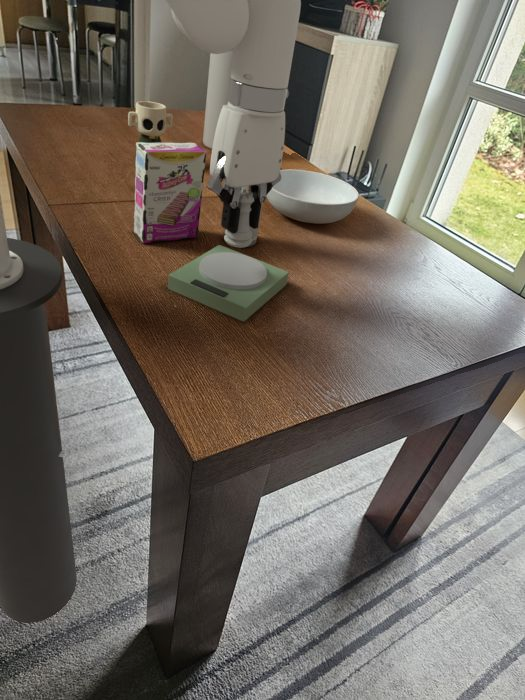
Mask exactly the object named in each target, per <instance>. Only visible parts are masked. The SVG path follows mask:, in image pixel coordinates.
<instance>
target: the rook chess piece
mask: <svg viewBox="0 0 525 700" xmlns="http://www.w3.org/2000/svg"><path fill="white" fill-rule="evenodd" d="M253 202H254V198H253V193H251V191H248V193H246V189H243V191H242V192H241V194H240V198H239V202H238V206H237V207H239V208H240V217H239V224H238V231H237V233H231V232H230V231H228V230H227V229H226V230H224V236H223V240H224V242H225V243H226V244H227V245H229V246H230V247H234V248H239V249H240V248H248V247H247V246H249V245H250V244H251V243H252V239H251V238H252V232H251V228H250V227H249V214H250V211H251V208H250V206H251V204H252V203H253ZM225 234H226V235H225ZM249 247H250V246H249Z"/></svg>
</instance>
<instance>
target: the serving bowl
mask: <svg viewBox="0 0 525 700" xmlns="http://www.w3.org/2000/svg"><path fill="white" fill-rule="evenodd" d="M280 174H281V180H280V181H279V182H278V183H277V184H276V185H275V186H273V187H272V189H271V190H270V192H269V193H268V194H267V195H266V200H267V201H268V203H269V204H270V205H271V207H273V209H275V211H277V212H278V213H280V214H281V215H283V216H285V217H287V218H289V219H292V220H294V221H297V222H302V223H307V224H316V225H317V224H319V225H320V224H332V223H336V222H338V221H341V220H343V219H345V218H346V217H347V216H348V215H350V214H351V212H353V210H354V209H355V207H356V205H357V203H358V201H359V199H360V193H359V191H358V190H357V189H356V188H355V187H354V186H353V185H351V184H350V183H348V182H347V181H345V180H342V179H341V178H337V177H335V176H332V175H329V174H326V173H322V172H318V171H312V170H306V169H295V168H294V169H293V168H292V169H288V168H287V169H282V170H280Z"/></svg>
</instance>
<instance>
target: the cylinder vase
mask: <svg viewBox="0 0 525 700" xmlns="http://www.w3.org/2000/svg"><path fill="white" fill-rule="evenodd" d="M233 49H234V48H233ZM233 49H232V50H230V51H228V52H226V53H221V54H212V53H209V66H208V78H207V89H206V91H207V92H206V101H205V112H204V124H203V134H202V144H203V145H204V146H205V147H206V148H207V149H210V150H212V147H213V141H214V136H215V131H216V127H217V122H218V119H219V115H220V112H221V109H222V107H223V105H228V97H229V87H230V78H231V68H232V58H233Z"/></svg>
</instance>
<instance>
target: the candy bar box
mask: <svg viewBox="0 0 525 700" xmlns="http://www.w3.org/2000/svg"><path fill="white" fill-rule="evenodd" d="M206 159H207V151H206V150H205V149H204V148H203V147H202V146H199V145H198V144H197V143H195V142H161V143H154V142H145V143H144V142H139V141H138V142H135V165H134V166H135V167H134V208H133V210H134V211H133V212H134V213H133V233H134V235H135V236H137V238H138V240H140V241H141V243H142V244H150V243H161V242H167V241H179V240H187V239H197V238H198V237H199V236H198V235H199V225H200V217H201V207H202V197H203V190H204V189H203V188H204V179H205V168H206V162H207V161H206Z"/></svg>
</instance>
